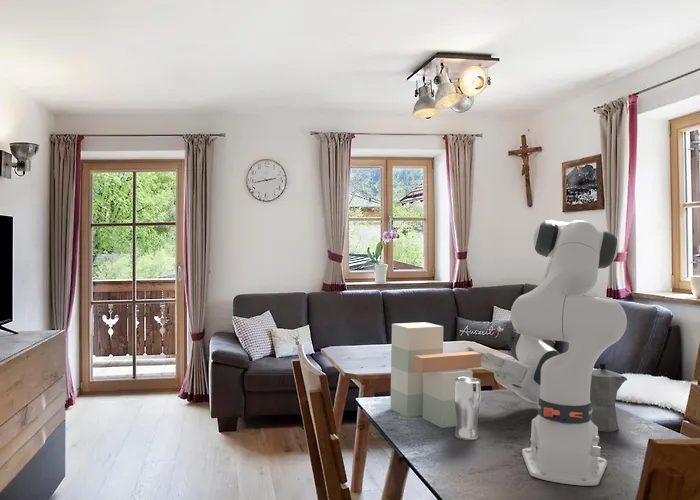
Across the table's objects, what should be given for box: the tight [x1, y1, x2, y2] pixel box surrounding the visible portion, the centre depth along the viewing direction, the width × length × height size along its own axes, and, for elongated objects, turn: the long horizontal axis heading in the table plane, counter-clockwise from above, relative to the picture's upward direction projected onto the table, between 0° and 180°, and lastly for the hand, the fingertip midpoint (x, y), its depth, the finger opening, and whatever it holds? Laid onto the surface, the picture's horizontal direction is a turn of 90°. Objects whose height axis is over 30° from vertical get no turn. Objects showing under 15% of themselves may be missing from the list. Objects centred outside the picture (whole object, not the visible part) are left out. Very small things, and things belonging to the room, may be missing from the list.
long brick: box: [414, 351, 481, 373], centre depth 168 cm, size 20×4×4 cm, turn 115°
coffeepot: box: [590, 362, 628, 433], centre depth 166 cm, size 15×9×18 cm, turn 45°
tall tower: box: [389, 321, 444, 418], centre depth 178 cm, size 12×10×26 cm
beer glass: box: [454, 377, 482, 441], centre depth 155 cm, size 7×7×15 cm
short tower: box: [422, 368, 474, 429], centre depth 168 cm, size 10×10×15 cm
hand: (477, 352), depth 172 cm, fingers open, 8 cm apart
